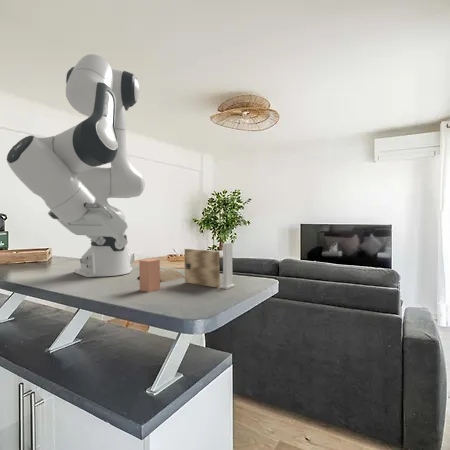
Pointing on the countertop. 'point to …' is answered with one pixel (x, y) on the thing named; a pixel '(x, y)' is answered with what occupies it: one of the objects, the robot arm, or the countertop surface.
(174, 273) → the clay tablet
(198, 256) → the oak door
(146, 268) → the block
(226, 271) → the wall post
